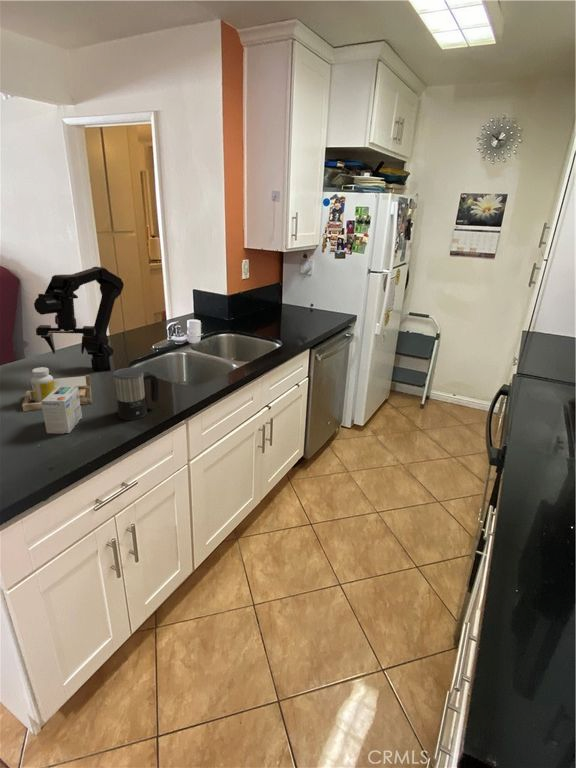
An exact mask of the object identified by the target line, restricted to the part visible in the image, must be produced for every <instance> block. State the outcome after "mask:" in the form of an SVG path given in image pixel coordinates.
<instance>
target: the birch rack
mask: <svg viewBox="0 0 576 768" xmlns="http://www.w3.org/2000/svg"><path fill="white" fill-rule="evenodd" d="M84 376H85V377H86V385H87V386H76V387H78V390H81V389H86V395H87V397H84V398H79V399H80V404H83V405H90V404H89V403H92V388H91V387H92V386H91V380H90V374H86V375H84ZM32 398H34V394H33V390H27V391H26V393H25V395H24V399H23V401H22V409H23V411H22V412H27V411H29V412H30V411H37V410H43V409H42V404H41V402H37V403H36V402H31V400H32Z"/></svg>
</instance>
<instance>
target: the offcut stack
mask: <svg viewBox="0 0 576 768" xmlns="http://www.w3.org/2000/svg"><path fill="white" fill-rule="evenodd" d="M78 391H79V398H84V397H87V395H86V389H81V390H78Z"/></svg>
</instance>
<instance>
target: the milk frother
mask: <svg viewBox="0 0 576 768" xmlns="http://www.w3.org/2000/svg"><path fill="white" fill-rule="evenodd" d="M113 377H114V382H115V390H116V399H117V407H118V408H117V409H118V412H117V416H118V417H119V418H120V419H122V420H127V421H128V420H129V421H132V420H138V419H141V418H143V417H145V416H147V414H148V409H147V407H148V402H147V392H146V391H147V390H146V382H145V381H146V380H150V399H151V400H152V402H153V403H155V404H156V403H158V402H159V400H160V399H159V398H160V397H159V391H160V390H159V389H160V388H159V385H160V384H159V383H160V382H159V378H158V376H157V375H155V373H153V372H150V371H145V370H143V369H142V368H139V367H124V368H120V369H117V370H115V371H114V372H113Z"/></svg>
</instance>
